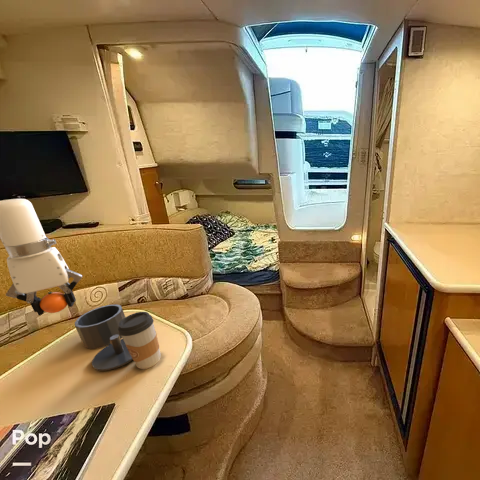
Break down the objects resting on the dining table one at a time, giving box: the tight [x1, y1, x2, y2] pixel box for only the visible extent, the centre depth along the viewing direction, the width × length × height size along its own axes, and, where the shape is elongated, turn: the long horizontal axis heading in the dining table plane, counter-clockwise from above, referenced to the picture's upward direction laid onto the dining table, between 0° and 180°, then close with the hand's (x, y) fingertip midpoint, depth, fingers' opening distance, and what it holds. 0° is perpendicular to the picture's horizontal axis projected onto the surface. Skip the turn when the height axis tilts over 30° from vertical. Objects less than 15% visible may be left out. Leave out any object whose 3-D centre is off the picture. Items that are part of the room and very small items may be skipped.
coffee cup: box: [118, 311, 162, 370], centre depth 77 cm, size 8×8×15 cm
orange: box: [40, 291, 68, 314], centre depth 73 cm, size 6×6×6 cm
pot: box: [74, 303, 126, 350], centre depth 91 cm, size 13×13×8 cm
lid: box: [91, 335, 133, 372], centre depth 82 cm, size 14×14×7 cm
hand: (57, 308), depth 74 cm, fingers closed on orange, 5 cm apart
